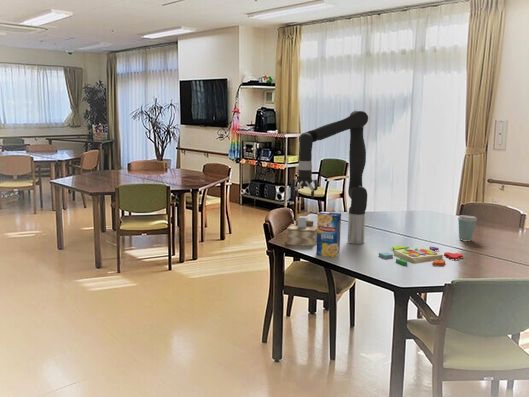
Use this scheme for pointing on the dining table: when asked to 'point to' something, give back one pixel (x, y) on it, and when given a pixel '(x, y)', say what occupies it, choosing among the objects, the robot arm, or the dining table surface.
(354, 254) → the dining table surface
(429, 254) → the pattern blocks set
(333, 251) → the blue food carton
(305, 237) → the box
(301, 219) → the steel block
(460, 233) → the disposable coffee cup
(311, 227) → the lid
